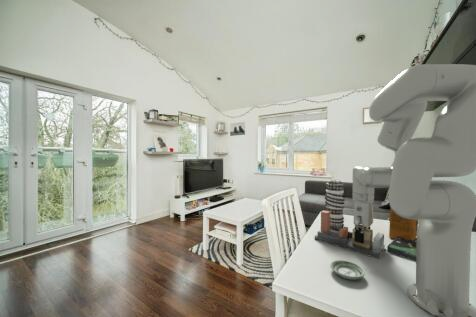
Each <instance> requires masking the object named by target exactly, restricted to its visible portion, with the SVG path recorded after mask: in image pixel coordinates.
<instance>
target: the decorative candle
mask: <svg viewBox="0 0 476 317" xmlns="http://www.w3.org/2000/svg"><path fill="white" fill-rule="evenodd" d="M325 184H326V188H325V192H326V193H325V194H324V196H325V197H324V200H325V201H324V203H325V204H324V206H325V207H326V209H325V211H329V212H330V227H333V228H337V229H342V228H343V227H345V223H344V222H345V220H344V219H345V217H344V208H345V206H344V205H345V201H346V200H345V199H344V197H346V195H345V194H346V192H345V191H344V183H343V182H342V181H341V180H337V179H330V180H328V181H327V182H326V183H325Z"/></svg>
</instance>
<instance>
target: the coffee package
mask: <svg viewBox="0 0 476 317" xmlns="http://www.w3.org/2000/svg"><path fill="white" fill-rule="evenodd" d="M388 220H389V227H388V228H389V230H388V237H389V239H393V240H395V239H396V238H397V237H401V238H404V239H405V240H413V241H415V240H416V239H417V229H418V225H419V220H415V219H406V218H402V217H400V216H398V215H397V214H396V213H395V212H394V211H393V210H392V208H391V207H390V209H389V219H388Z"/></svg>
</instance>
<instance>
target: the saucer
mask: <svg viewBox="0 0 476 317" xmlns="http://www.w3.org/2000/svg"><path fill="white" fill-rule="evenodd" d="M329 265H330V268H331V270H332V271H334V273H335V274H336V275H338V276H339V277H341V278H343V279H347V280H359V279H361V278H364V277H365V274H366V270H365V269H364V268H363V267H362V266H361V265H359V264H357V263H355V262H353V261H349V260H343V259H337V260H334V261H333V260H332V261H331V262H330V264H329Z"/></svg>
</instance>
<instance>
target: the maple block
mask: <svg viewBox="0 0 476 317" xmlns="http://www.w3.org/2000/svg"><path fill="white" fill-rule="evenodd" d="M360 228H362V227H360ZM354 230H355V227H354V228H352V232H353V237H352V244H355V245H359V246H362V247H366V248H369V249H370V247H371V246H372V245H373V238H374V235H373V234H374V229H371V228H370V229H367V228H365V227H364V231H363V233H364V243H363V244H362V243H359V242H355V241H354Z"/></svg>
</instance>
